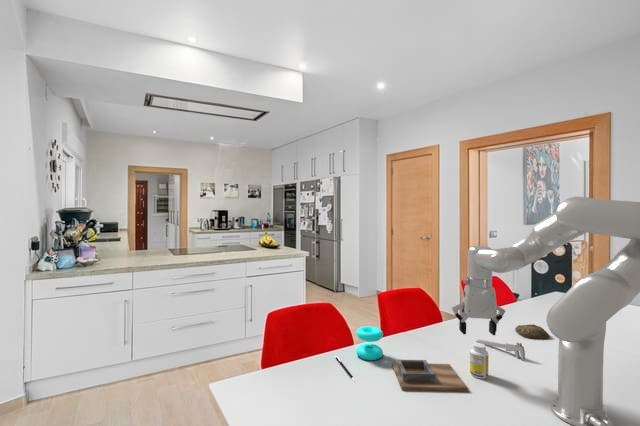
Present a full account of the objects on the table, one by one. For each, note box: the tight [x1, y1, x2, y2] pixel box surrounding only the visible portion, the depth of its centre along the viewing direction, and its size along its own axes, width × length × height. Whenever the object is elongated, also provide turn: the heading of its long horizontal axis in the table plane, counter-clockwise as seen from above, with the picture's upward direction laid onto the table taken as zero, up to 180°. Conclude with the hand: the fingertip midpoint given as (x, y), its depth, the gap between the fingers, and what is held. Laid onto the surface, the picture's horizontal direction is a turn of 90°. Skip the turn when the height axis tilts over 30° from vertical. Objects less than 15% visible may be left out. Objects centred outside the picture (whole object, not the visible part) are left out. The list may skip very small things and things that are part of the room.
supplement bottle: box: [469, 342, 489, 380], centre depth 113 cm, size 6×6×10 cm
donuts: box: [355, 325, 384, 361], centre depth 128 cm, size 10×10×10 cm
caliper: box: [475, 339, 526, 361], centre depth 133 cm, size 20×1×6 cm, turn 27°
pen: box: [334, 355, 356, 382], centre depth 117 cm, size 1×19×1 cm, turn 17°
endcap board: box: [391, 359, 469, 393], centre depth 111 cm, size 16×20×4 cm
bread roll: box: [514, 324, 551, 341], centre depth 151 cm, size 13×12×5 cm
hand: (477, 333), depth 113 cm, fingers open, 9 cm apart
